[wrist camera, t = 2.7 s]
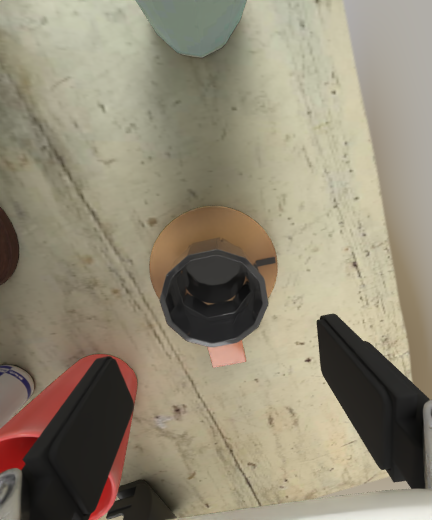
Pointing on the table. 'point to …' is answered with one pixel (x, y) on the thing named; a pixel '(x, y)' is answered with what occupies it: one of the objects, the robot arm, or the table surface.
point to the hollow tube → (215, 298)
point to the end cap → (139, 503)
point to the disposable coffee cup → (193, 23)
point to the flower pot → (41, 413)
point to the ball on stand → (7, 248)
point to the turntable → (209, 227)
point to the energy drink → (13, 391)
